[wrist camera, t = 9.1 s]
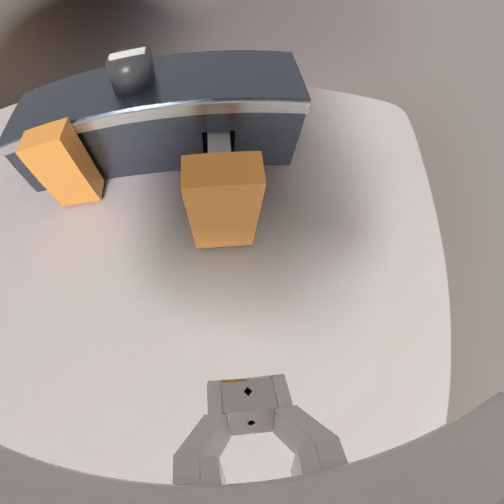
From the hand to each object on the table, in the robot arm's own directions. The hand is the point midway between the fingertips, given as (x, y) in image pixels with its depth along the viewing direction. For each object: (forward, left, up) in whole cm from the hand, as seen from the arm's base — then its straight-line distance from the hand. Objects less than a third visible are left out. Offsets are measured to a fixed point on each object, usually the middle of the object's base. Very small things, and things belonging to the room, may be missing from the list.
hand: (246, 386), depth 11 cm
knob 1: (-28, +1, -12) cm, 31 cm away
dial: (-24, +7, -3) cm, 25 cm away
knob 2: (-15, +10, -12) cm, 22 cm away
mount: (-24, +7, -13) cm, 28 cm away
